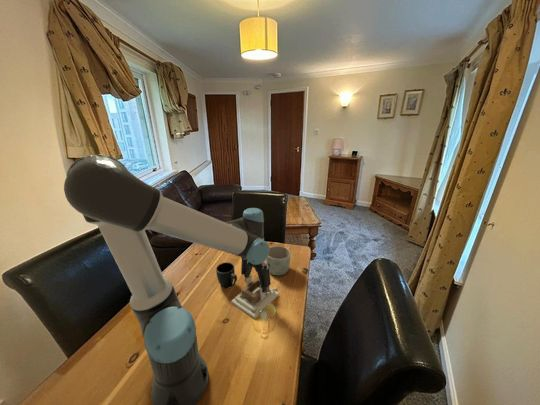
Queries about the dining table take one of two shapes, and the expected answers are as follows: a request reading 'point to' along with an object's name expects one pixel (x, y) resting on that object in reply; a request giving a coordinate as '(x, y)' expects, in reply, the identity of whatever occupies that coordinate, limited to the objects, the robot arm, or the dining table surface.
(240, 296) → the white flat rectangular tray
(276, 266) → the planter
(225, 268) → the mug
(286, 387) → the dining table surface
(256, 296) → the frame
